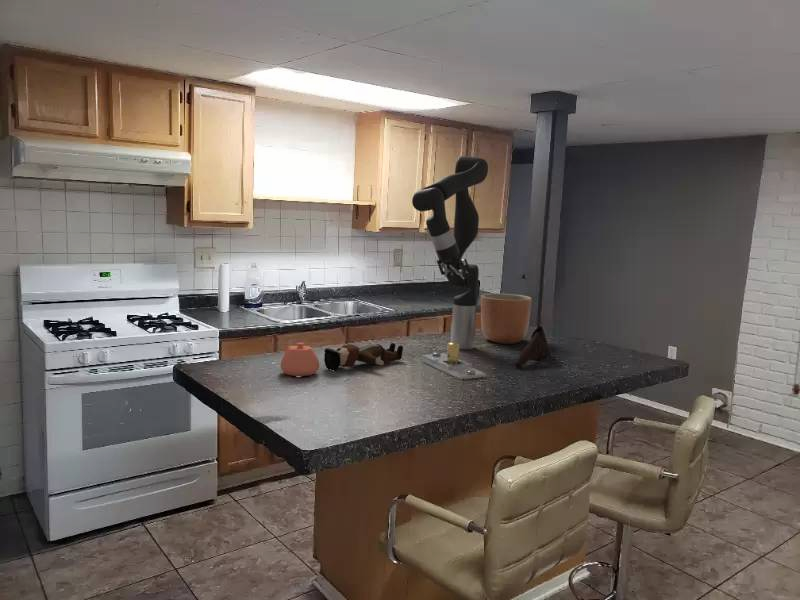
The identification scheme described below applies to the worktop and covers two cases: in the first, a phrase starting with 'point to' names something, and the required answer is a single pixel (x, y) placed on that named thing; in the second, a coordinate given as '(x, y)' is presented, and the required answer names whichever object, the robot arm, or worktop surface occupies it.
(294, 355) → the sugar bowl
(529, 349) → the holster
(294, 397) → the worktop surface
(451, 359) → the pin
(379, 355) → the toy
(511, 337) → the planter
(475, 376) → the grey metal plate
